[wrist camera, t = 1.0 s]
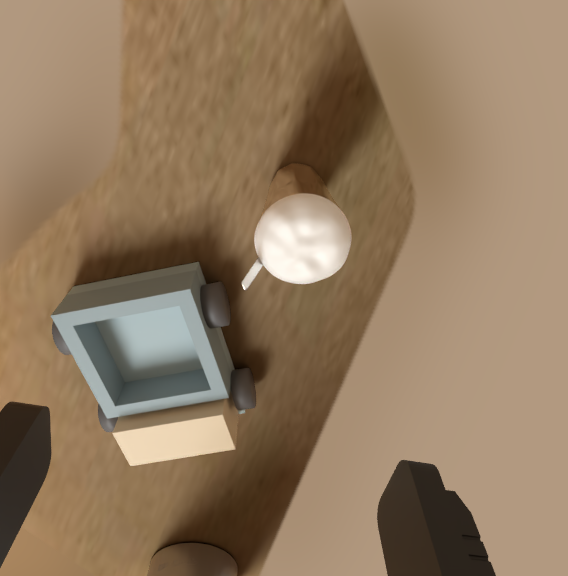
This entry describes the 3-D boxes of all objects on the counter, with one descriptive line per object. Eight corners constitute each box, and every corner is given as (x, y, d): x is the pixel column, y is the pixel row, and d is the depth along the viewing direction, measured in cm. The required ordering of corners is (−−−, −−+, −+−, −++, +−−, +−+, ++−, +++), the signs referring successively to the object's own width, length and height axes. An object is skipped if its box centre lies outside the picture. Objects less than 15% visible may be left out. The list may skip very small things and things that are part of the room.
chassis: (260, 399, 37) (258, 445, 33) (126, 422, 38) (108, 469, 34) (215, 258, 31) (207, 293, 27) (56, 289, 32) (25, 328, 28)
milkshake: (234, 177, 28) (217, 245, 20) (314, 138, 27) (333, 191, 19) (268, 238, 30) (265, 324, 22) (343, 204, 29) (372, 280, 21)
